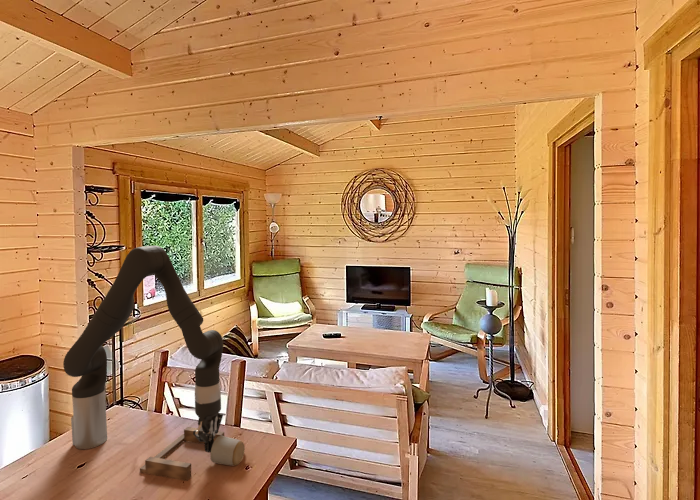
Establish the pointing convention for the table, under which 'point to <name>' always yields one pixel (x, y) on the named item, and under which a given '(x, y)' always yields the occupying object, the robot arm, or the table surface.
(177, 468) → the cradle
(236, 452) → the ceramic mug
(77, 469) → the table surface
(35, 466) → the table surface
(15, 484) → the table surface
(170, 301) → the robot arm
